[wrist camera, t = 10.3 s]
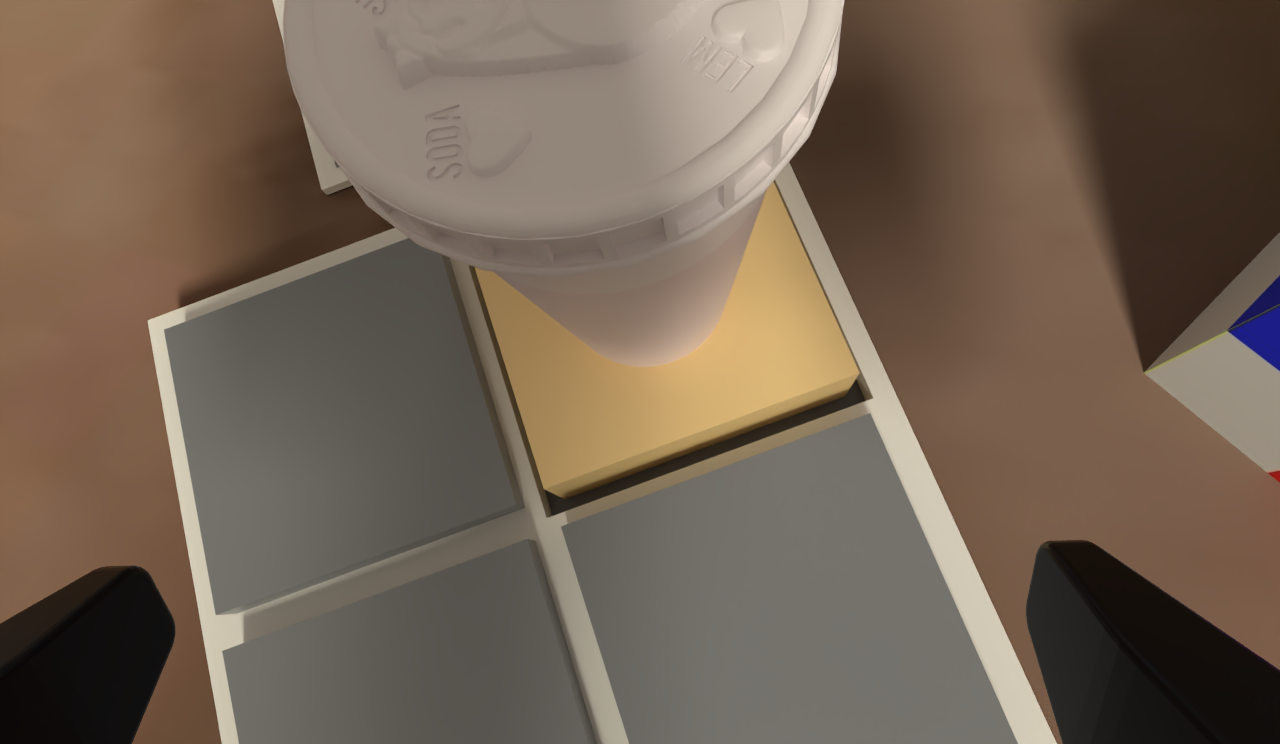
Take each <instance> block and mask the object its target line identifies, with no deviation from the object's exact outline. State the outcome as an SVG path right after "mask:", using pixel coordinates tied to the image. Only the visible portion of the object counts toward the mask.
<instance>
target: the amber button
mask: <svg viewBox="0 0 1280 744" xmlns="http://www.w3.org/2000/svg"><path fill="white" fill-rule="evenodd" d="M475 270H476V274H477V277H478V280H479V283H480V286H481V290H482V293H483V296H484V299H485V302H486V306H487V309H488V312H489V315H490V318H491V322H492V325H493V328H494V331H495V334H496V338H497V341H498V344H499V347H500V350H501V354H502V357H503V360H504V363H505V366H506V370H507V373H508V376H509V379H510V382H511V386H512V389H513V392H514V395H515V398H516V402H517V405H518V408H519V411H520V414H521V418H522V421H523V424H524V427H525V430H526V434H527V437H528V440H529V443H530V446H531V450H532V453H533V456H534V459H535V462H536V466H537V469H538V472H539V475H540V478H541V482H542V485H543V488H544V489H545V490H547V491H549V492H551V493H553V494H555V495H557V496H559V497H561V498H563V499H567V498H570V497H572V496H575V495H578V494H580V493H583V492H586V491H589V490H591V489H594V488H597V487H599V486H602V485H605V484H608V483H610V482H613V481H616V480H619V479H621V478H624V477H627V476H629V475H632V474H635V473H638V472H640V471H643V470H646V469H648V468H651V467H654V466H657V465H659V464H662V463H665V462H667V461H670V460H673V459H676V458H678V457H681V456H684V455H687V454H689V453H692V452H695V451H697V450H700V449H703V448H706V447H708V446H711V445H714V444H716V443H719V442H722V441H725V440H727V439H730V438H733V437H736V436H738V435H741V434H744V433H746V432H749V431H752V430H755V429H757V428H760V427H763V426H765V425H768V424H771V423H774V422H776V421H779V420H782V419H784V418H787V417H790V416H793V415H795V414H798V413H801V412H804V411H806V410H809V409H812V408H814V407H817V406H820V405H823V404H825V403H828V402H831V401H833V400H836V399H839V398H842V397H844V396H846V394H847V393H848V391H849V389H850V388H851V386H852V384H853V383H854V381H855V380H856V378H857V376H858V375H859V370H858V368H857V366H856V364H855V362H854V359H853V357H852V355H851V353H850V350H849V348H848V346H847V344H846V342H845V339H844V337H843V335H842V333H841V330H840V328H839V326H838V324H837V322H836V319H835V317H834V315H833V313H832V310H831V308H830V306H829V304H828V302H827V299H826V297H825V295H824V293H823V290H822V288H821V286H820V284H819V282H818V279H817V277H816V275H815V273H814V270H813V268H812V266H811V264H810V262H809V259H808V257H807V255H806V253H805V250H804V248H803V246H802V244H801V242H800V239H799V237H798V235H797V233H796V230H795V228H794V226H793V224H792V221H791V219H790V217H789V215H788V213H787V210H786V208H785V206H784V204H783V201H782V199H781V197H780V195H779V193H778V190H777V188H776V186H775V184H774V181H773V182H772V184H771V185H770V186H769V187H768V189H767V191H766V193H765V196H764V199H763V202H762V205H761V207H760V210H759V213H758V216H757V219H756V221H755V224H754V227H753V230H752V233H751V235H750V238H749V241H748V244H747V247H746V249H745V252H744V255H743V258H742V261H741V263H740V266H739V269H738V272H737V275H736V277H735V280H734V283H733V286H732V289H731V291H730V294H729V297H728V300H727V303H726V305H725V308H724V311H723V314H722V316H721V318H720V321H719V323H718V324H717V326H716V328H715V329H714V331H713V332H712V333H711V335H710V336H709V337H708V338H707V339H706V341H705V342H703V343H702V344H701V345H700V346H699V347H698V348H697V349H695V350H694V351H693V352H691V353H689V354H688V355H686V356H684V357H682V358H680V359H678V360H676V361H673V362H671V363H667V364H664V365H658V366H651V367H636V366H628V365H623V364H620V363H616V362H614V361H611V360H609V359H607V358H605V357H603V356H601V355H600V354H598V353H597V352H595V351H594V350H593V349H591V348H590V347H589V346H588V345H586V344H585V343H584V342H582V341H581V340H580V339H579V338H577V337H576V336H575V335H573V334H572V333H571V332H570V331H568V330H567V329H566V328H564V327H563V326H562V325H561V324H559V323H558V322H557V321H556V320H554V319H553V318H552V317H550V316H549V315H548V314H547V313H545V312H544V311H543V310H541V309H540V308H539V307H538V306H536V305H535V304H534V303H532V302H531V301H530V300H529V299H527V298H526V297H525V296H524V295H522V294H521V293H520V292H518V291H517V290H516V289H515V288H513V287H512V286H511V285H509V284H508V283H507V282H506V281H504V280H503V279H502V278H501V277H499V276H498V275H497V274H495V273H494V272H493V271H484V270H481V269H478V268H476V267H475Z"/></svg>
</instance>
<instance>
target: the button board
mask: <svg viewBox="0 0 1280 744" xmlns="http://www.w3.org/2000/svg"><path fill="white" fill-rule="evenodd" d="M774 184H775V186H776V188H777V190H778V193H779V195H780V197H781V199H782V201H783V204H784V206H785V208H786V210H787V213H788V215H789V217H790V219H791V221H792V224H793V226H794V228H795V230H796V233H797V235H798V237H799V239H800V242H801V244H802V246H803V248H804V250H805V253H806V255H807V257H808V259H809V262H810V264H811V266H812V268H813V270H814V273H815V275H816V277H817V279H818V282H819V284H820V286H821V288H822V290H823V293H824V295H825V297H826V299H827V302H828V304H829V306H830V308H831V310H832V313H833V315H834V317H835V319H836V322H837V324H838V326H839V328H840V330H841V333H842V335H843V337H844V339H845V342H846V344H847V346H848V348H849V350H850V353H851V355H852V357H853V359H854V362H855V364H856V366H857V368H858V370H859V375H858V376H857V378H856V380H855V381H854V383H853V384H852V386H851V388H850V389H849V391H848V393H847V394H846V396H844V397H842V398H839V399H836V400H833V401H831V402H828V403H825V404H823V405H820V406H817V407H814V408H812V409H809V410H806V411H804V412H801V413H798V414H795V415H793V416H790V417H787V418H784V419H782V420H779V421H776V422H774V423H771V424H768V425H765V426H763V427H760V428H757V429H755V430H752V431H749V432H746V433H744V434H741V435H738V436H736V437H733V438H730V439H727V440H725V441H722V442H719V443H716V444H714V445H711V446H708V447H706V448H703V449H700V450H697V451H695V452H692V453H689V454H687V455H684V456H681V457H678V458H676V459H673V460H670V461H667V462H665V463H662V464H659V465H657V466H654V467H651V468H648V469H646V470H643V471H640V472H638V473H635V474H632V475H629V476H627V477H624V478H621V479H619V480H616V481H613V482H610V483H608V484H605V485H602V486H599V487H597V488H594V489H591V490H589V491H586V492H583V493H580V494H578V495H575V496H572V497H570V498H567V499H563V498H561V497H559V496H557V495H555V494H553V493H551V492H549V491H547V490H545V489H544V488H543V485H542V482H541V478H540V475H539V472H538V469H537V466H536V462H535V459H534V456H533V453H532V450H531V446H530V443H529V440H528V437H527V434H526V430H525V427H524V424H523V421H522V418H521V414H520V411H519V408H518V405H517V402H516V398H515V395H514V392H513V389H512V386H511V382H510V379H509V376H508V373H507V370H506V366H505V363H504V360H503V357H502V354H501V350H500V347H499V344H498V341H497V338H496V334H495V331H494V328H493V325H492V322H491V318H490V315H489V312H488V309H487V306H486V302H485V299H484V296H483V293H482V290H481V286H480V283H479V280H478V277H477V274H476V270H475V267H473V266H470V265H468V264H465V263H463V262H460V261H457V260H455V259H452V258H450V257H447V256H445V255H442V254H439V253H437V252H434V251H432V250H429V249H426V248H424V247H421V246H419V245H417V244H416V243H415V242H414V241H412V240H411V239H410V238H408V237H407V236H406V235H404V234H403V233H402V232H400V231H399V230H398V229H397V228H393V229H390V230H387V231H385V232H382V233H379V234H377V235H374V236H371V237H369V238H366V239H363V240H361V241H358V242H355V243H353V244H350V245H347V246H345V247H342V248H339V249H337V250H334V251H331V252H329V253H326V254H323V255H321V256H318V257H315V258H313V259H310V260H307V261H305V262H302V263H299V264H297V265H294V266H291V267H289V268H286V269H283V270H281V271H278V272H275V273H273V274H270V275H267V276H265V277H262V278H259V279H257V280H254V281H251V282H249V283H246V284H243V285H241V286H238V287H235V288H233V289H230V290H227V291H225V292H222V293H220V294H217V295H214V296H212V297H209V298H206V299H204V300H201V301H198V302H196V303H193V304H190V305H188V306H185V307H182V308H180V309H177V310H174V311H172V312H169V313H166V314H164V315H161V316H158V317H156V318H153V319H150V320H148V326H149V331H150V337H151V343H152V348H153V354H154V360H155V365H156V371H157V377H158V382H159V388H160V394H161V400H162V405H163V411H164V417H165V422H166V428H167V434H168V439H169V445H170V451H171V456H172V462H173V468H174V474H175V479H176V485H177V491H178V496H179V502H180V508H181V513H182V519H183V525H184V530H185V536H186V542H187V547H188V553H189V559H190V565H191V570H192V576H193V582H194V587H195V593H196V599H197V604H198V610H199V616H200V621H201V627H202V633H203V639H204V644H205V650H206V656H207V661H208V667H209V673H210V678H211V684H212V690H213V695H214V701H215V707H216V712H217V718H218V724H219V730H220V735H221V741H222V744H1057V743H1056V741H1055V739H1054V737H1053V734H1052V732H1051V730H1050V728H1049V726H1048V724H1047V721H1046V719H1045V717H1044V715H1043V713H1042V711H1041V708H1040V706H1039V704H1038V702H1037V700H1036V698H1035V695H1034V693H1033V691H1032V689H1031V687H1030V684H1029V682H1028V680H1027V678H1026V676H1025V674H1024V671H1023V669H1022V667H1021V665H1020V663H1019V661H1018V658H1017V656H1016V654H1015V652H1014V650H1013V648H1012V645H1011V643H1010V641H1009V639H1008V637H1007V635H1006V632H1005V630H1004V628H1003V626H1002V624H1001V621H1000V619H999V617H998V615H997V613H996V611H995V608H994V606H993V604H992V602H991V600H990V598H989V595H988V593H987V591H986V589H985V587H984V585H983V582H982V580H981V578H980V576H979V574H978V571H977V569H976V567H975V565H974V563H973V561H972V558H971V556H970V554H969V552H968V550H967V548H966V545H965V543H964V541H963V539H962V537H961V535H960V532H959V530H958V528H957V526H956V524H955V522H954V519H953V517H952V515H951V513H950V511H949V508H948V506H947V504H946V502H945V500H944V498H943V495H942V493H941V491H940V489H939V487H938V485H937V482H936V480H935V478H934V476H933V474H932V472H931V469H930V467H929V465H928V463H927V461H926V458H925V456H924V454H923V452H922V450H921V448H920V445H919V443H918V441H917V439H916V437H915V435H914V432H913V430H912V428H911V426H910V424H909V422H908V419H907V417H906V415H905V413H904V411H903V409H902V406H901V404H900V402H899V400H898V398H897V395H896V393H895V391H894V389H893V387H892V385H891V382H890V380H889V378H888V376H887V374H886V372H885V369H884V367H883V365H882V363H881V361H880V359H879V356H878V354H877V352H876V350H875V348H874V345H873V343H872V341H871V339H870V337H869V335H868V332H867V330H866V328H865V326H864V324H863V322H862V319H861V317H860V315H859V313H858V311H857V309H856V306H855V304H854V302H853V300H852V298H851V296H850V293H849V291H848V289H847V287H846V285H845V282H844V280H843V278H842V276H841V274H840V272H839V269H838V267H837V265H836V263H835V261H834V259H833V256H832V254H831V252H830V250H829V248H828V246H827V243H826V241H825V239H824V237H823V235H822V232H821V230H820V228H819V226H818V224H817V222H816V219H815V217H814V215H813V213H812V211H811V209H810V206H809V204H808V202H807V200H806V198H805V196H804V193H803V191H802V189H801V187H800V185H799V183H798V180H797V178H796V176H795V174H794V172H793V169H792V167H791V165H790V163H788V164H787V165H786V166H785V168H784V169H783V170H782V171H781V172H780V174H779V175H778V176H777V177H776V179H775V180H774Z"/></svg>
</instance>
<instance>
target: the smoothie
mask: <svg viewBox="0 0 1280 744" xmlns="http://www.w3.org/2000/svg"><path fill="white" fill-rule="evenodd" d="M844 1H845V0H285V1H284V15H283V41H284V52H285V58H286V65H287V71H288V74H289V78H290V81H291V85H292V88H293V92H294V94H295V97H296V99H297V102H298V104H299V106H300V109H301V111H302V114H303V115H304V117H305V119H306V121H307V123H308V124H309V126H310V128H311V130H312V131H313V133H314V135H315V136H316V138H317V139H318V140H319V142H320V143H321V144H322V146H323V147H324V148H325V150H326V151H327V153H328V154H329V155H330V156H331V157H332V158H333V159H334V160H335V161H336V162H337V164H338V165H339V167H340V168H341V170H342V171H343V172H344V174H345V175H346V177H347V178H348V179H349V181H350V182H351V184H352V185H353V187H354V188H355V189H356V191H357V192H358V194H359V195H360V197H361V198H362V199H363V201H364V202H365V204H366V205H367V206H368V207H369V208H371V209H372V210H373V211H374V212H376V213H377V214H378V215H380V216H381V217H382V218H384V219H385V220H386V221H387V222H389V223H390V224H391V225H393V226H394V227H395V228H397V229H398V230H399V231H400V232H402V233H403V234H404V235H406V236H407V237H408V238H410V239H411V240H412V241H414V242H415V243H416V244H417V245H419V246H421V247H424V248H426V249H429V250H432V251H434V252H437V253H439V254H442V255H445V256H447V257H450V258H452V259H455V260H457V261H460V262H463V263H465V264H468V265H470V266H473V267H476V268H478V269H481V270H484V271H493V272H494V273H495V274H497V275H498V276H499V277H501V278H502V279H503V280H504V281H506V282H507V283H508V284H509V285H511V286H512V287H513V288H515V289H516V290H517V291H518V292H520V293H521V294H522V295H524V296H525V297H526V298H527V299H529V300H530V301H531V302H532V303H534V304H535V305H536V306H538V307H539V308H540V309H541V310H543V311H544V312H545V313H547V314H548V315H549V316H550V317H552V318H553V319H554V320H556V321H557V322H558V323H559V324H561V325H562V326H563V327H564V328H566V329H567V330H568V331H570V332H571V333H572V334H573V335H575V336H576V337H577V338H579V339H580V340H581V341H582V342H584V343H585V344H586V345H588V346H589V347H590V348H591V349H593V350H594V351H595V352H597V353H598V354H600V355H601V356H603V357H605V358H607V359H609V360H611V361H614V362H616V363H620V364H623V365H628V366H636V367H651V366H658V365H664V364H667V363H671V362H673V361H676V360H678V359H680V358H682V357H684V356H686V355H688V354H689V353H691V352H693V351H694V350H695V349H697V348H698V347H699V346H700V345H701V344H702V343H703V342H705V341H706V339H707V338H708V337H709V336H710V335H711V333H712V332H713V331H714V329H715V328H716V326H717V324H718V323H719V321H720V318H721V316H722V314H723V311H724V308H725V305H726V303H727V300H728V297H729V294H730V291H731V289H732V286H733V283H734V280H735V277H736V275H737V272H738V269H739V266H740V263H741V261H742V258H743V255H744V252H745V249H746V247H747V244H748V241H749V238H750V235H751V233H752V230H753V227H754V224H755V221H756V219H757V216H758V213H759V210H760V207H761V205H762V202H763V199H764V196H765V193H766V191H767V189H768V187H769V186H770V185H771V184H772V182H773V181H774V180H775V179H776V177H777V176H778V175H779V174H780V172H781V171H782V170H783V169H784V168H785V166H786V165H787V164H788V163H789V161H790V160H791V159H792V158H793V156H794V155H795V154H796V153H797V151H798V150H799V149H800V148H801V147H802V145H803V144H804V143H805V142H806V140H807V139H808V138H809V136H810V134H811V132H812V129H813V127H814V125H815V122H816V120H817V118H818V115H819V113H820V110H821V108H822V106H823V103H824V101H825V99H826V96H827V94H828V92H829V89H830V87H831V85H832V82H833V80H834V78H835V75H836V71H837V61H838V51H839V42H840V32H841V23H842V13H843V6H844Z"/></svg>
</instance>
